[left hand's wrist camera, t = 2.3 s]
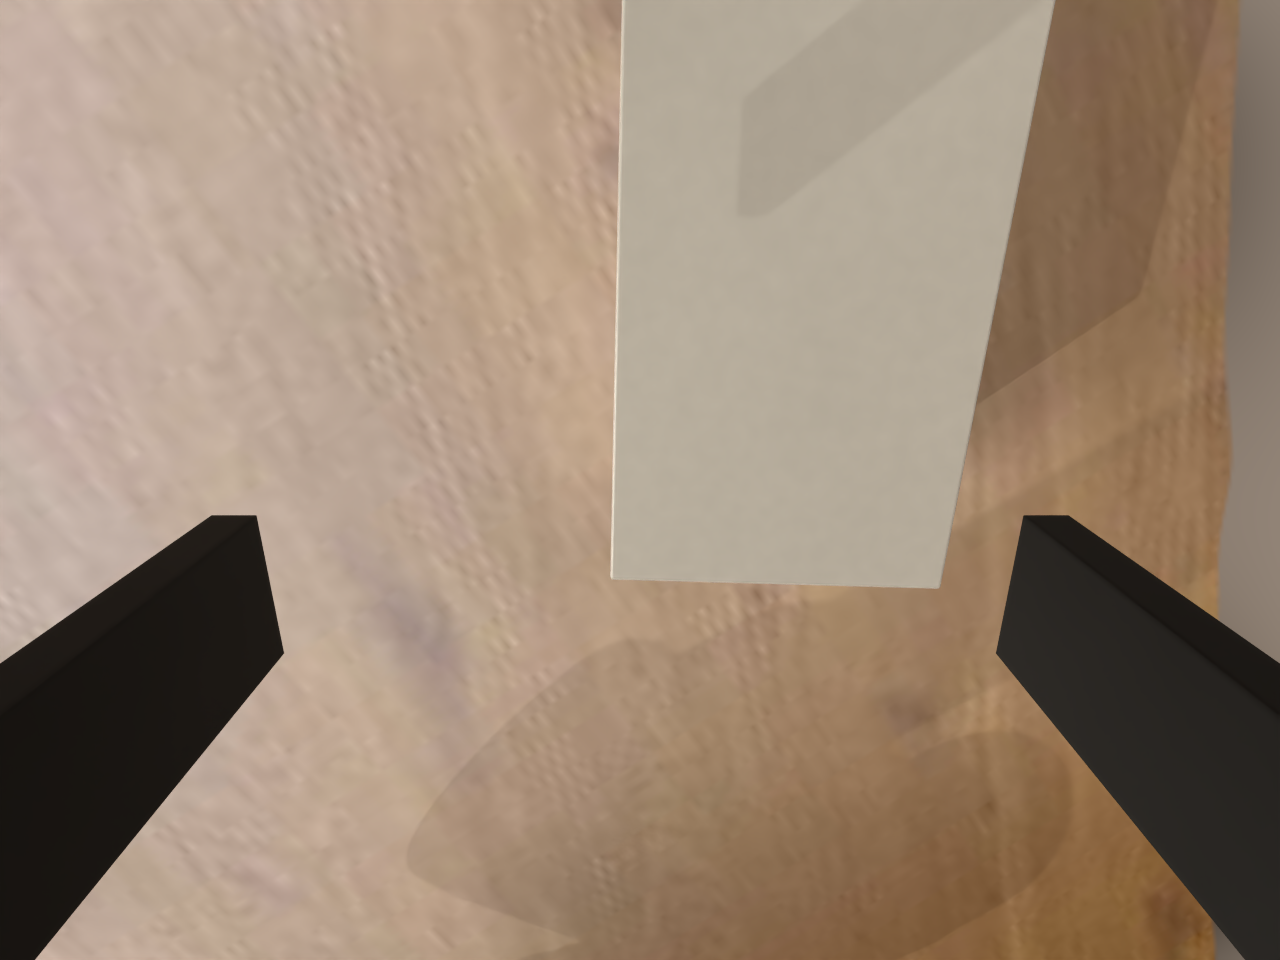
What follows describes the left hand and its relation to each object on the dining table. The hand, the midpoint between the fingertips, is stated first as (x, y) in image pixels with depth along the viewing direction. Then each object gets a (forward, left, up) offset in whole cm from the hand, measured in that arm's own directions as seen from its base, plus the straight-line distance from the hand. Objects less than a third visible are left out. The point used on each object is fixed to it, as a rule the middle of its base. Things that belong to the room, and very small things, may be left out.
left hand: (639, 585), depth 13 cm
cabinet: (+3, -5, -18) cm, 19 cm away
